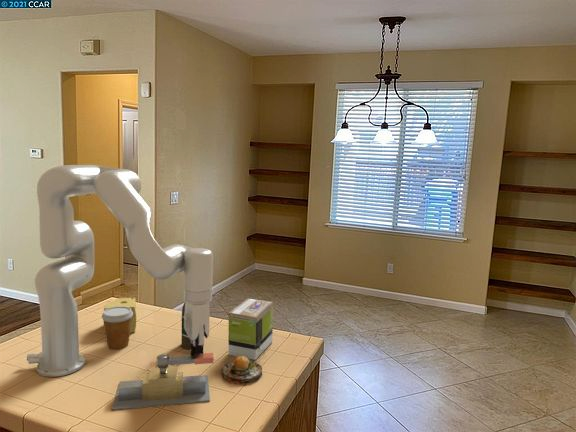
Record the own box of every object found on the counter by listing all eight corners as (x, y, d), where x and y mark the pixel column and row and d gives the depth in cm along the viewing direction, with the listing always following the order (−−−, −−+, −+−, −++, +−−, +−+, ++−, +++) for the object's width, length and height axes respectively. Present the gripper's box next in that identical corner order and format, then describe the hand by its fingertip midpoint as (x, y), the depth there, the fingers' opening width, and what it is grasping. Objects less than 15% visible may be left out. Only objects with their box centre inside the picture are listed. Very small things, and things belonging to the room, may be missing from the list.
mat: (112, 410, 108) (112, 408, 107) (120, 382, 120) (120, 381, 120) (209, 401, 113) (209, 400, 113) (207, 376, 126) (207, 374, 125)
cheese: (106, 324, 159) (105, 298, 157) (137, 322, 162) (137, 296, 161) (103, 336, 149) (102, 308, 147) (136, 333, 152) (136, 306, 151)
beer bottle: (198, 351, 140) (199, 280, 137) (176, 348, 142) (177, 278, 138) (208, 341, 148) (209, 274, 144) (186, 338, 149) (187, 271, 146)
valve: (117, 405, 110) (117, 374, 108) (121, 392, 115) (120, 363, 114) (205, 397, 115) (206, 368, 113) (204, 385, 120) (205, 357, 119)
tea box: (246, 337, 153) (247, 297, 151) (273, 342, 150) (274, 301, 148) (227, 355, 139) (228, 311, 137) (255, 361, 136) (257, 316, 134)
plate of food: (268, 369, 131) (269, 346, 130) (251, 389, 120) (251, 363, 119) (233, 361, 135) (234, 339, 134) (213, 379, 125) (214, 355, 123)
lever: (156, 368, 112) (156, 360, 112) (157, 363, 115) (157, 354, 115) (213, 364, 115) (213, 356, 115) (212, 359, 118) (212, 350, 118)
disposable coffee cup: (123, 336, 149) (123, 303, 147) (139, 345, 143) (138, 311, 141) (96, 345, 142) (95, 310, 140) (111, 355, 136) (111, 318, 134)
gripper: (178, 287, 121) (177, 348, 124) (190, 305, 108) (189, 373, 111) (204, 284, 125) (203, 344, 127) (219, 302, 111) (217, 368, 114)
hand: (196, 357), depth 119 cm, fingers closed
